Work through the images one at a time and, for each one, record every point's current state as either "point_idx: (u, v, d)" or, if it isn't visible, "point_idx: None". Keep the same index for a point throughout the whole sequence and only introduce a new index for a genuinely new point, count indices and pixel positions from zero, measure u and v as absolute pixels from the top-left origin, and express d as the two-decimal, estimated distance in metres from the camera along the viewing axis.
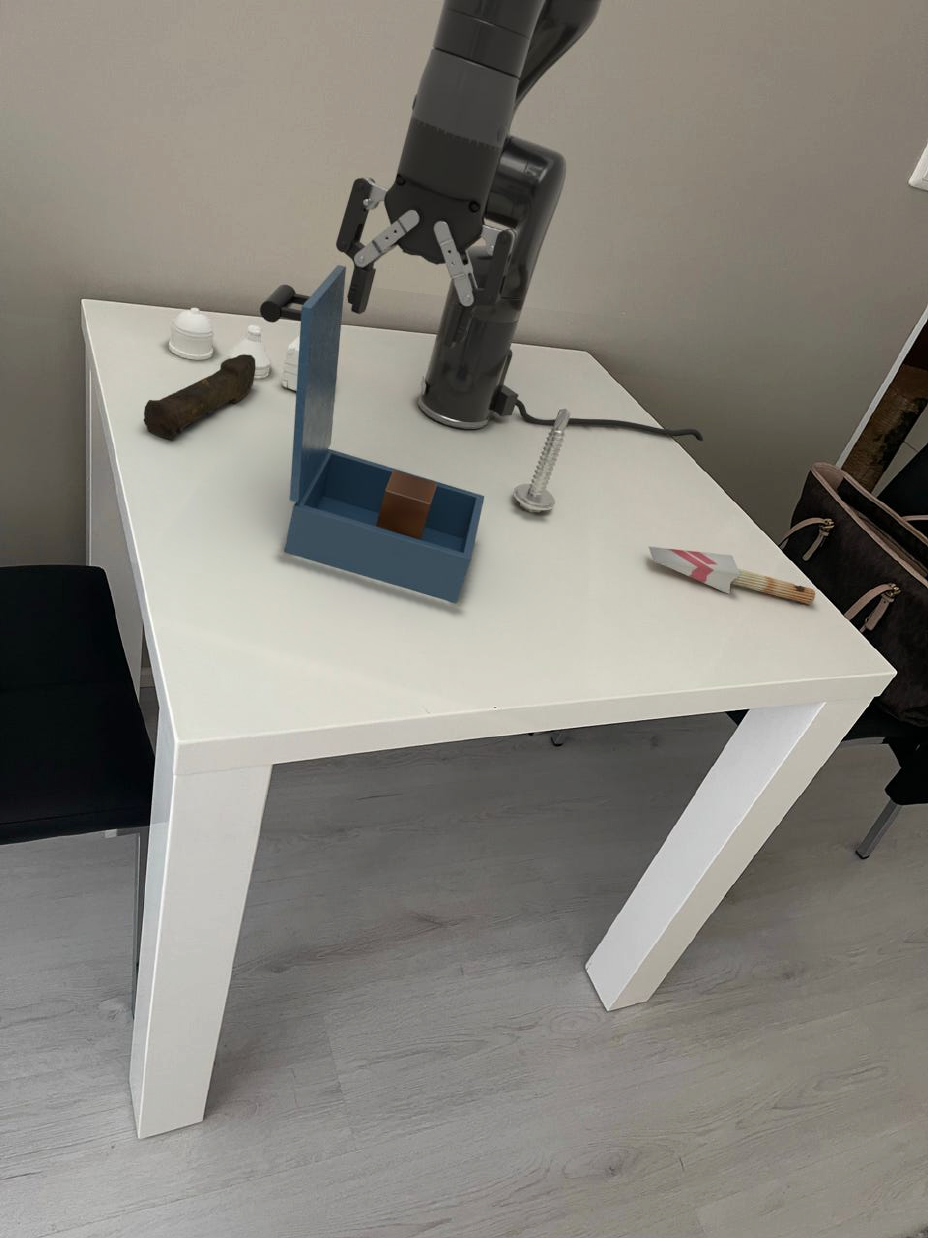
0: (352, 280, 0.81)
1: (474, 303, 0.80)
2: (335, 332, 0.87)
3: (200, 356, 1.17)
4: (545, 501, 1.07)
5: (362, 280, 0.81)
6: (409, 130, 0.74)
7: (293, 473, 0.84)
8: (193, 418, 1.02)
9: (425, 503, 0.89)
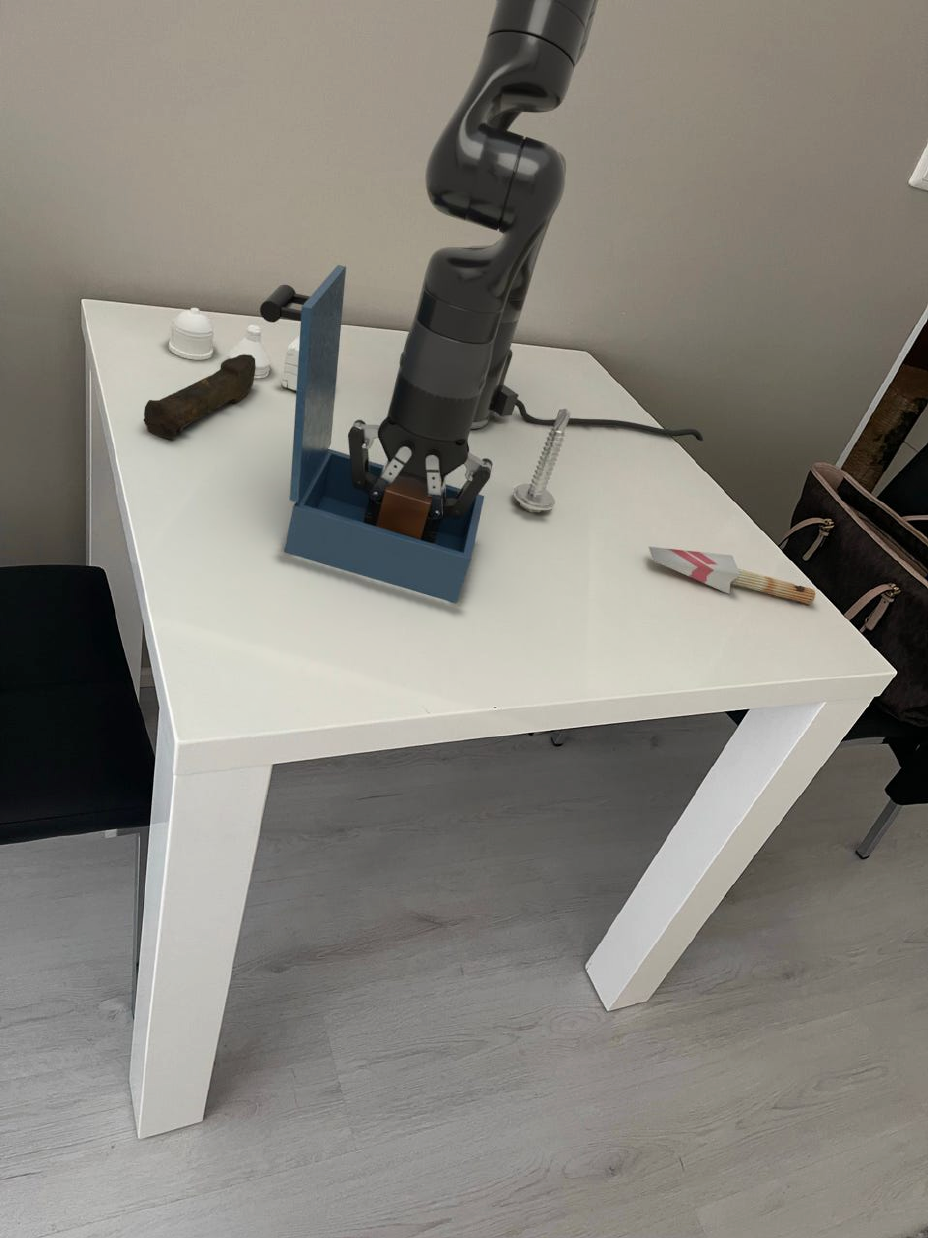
0: (367, 508, 0.91)
1: (443, 515, 0.91)
2: (335, 332, 0.87)
3: (200, 356, 1.17)
4: (545, 501, 1.07)
5: (377, 510, 0.91)
6: (399, 385, 0.83)
7: (293, 473, 0.84)
8: (193, 418, 1.02)
9: (425, 503, 0.89)
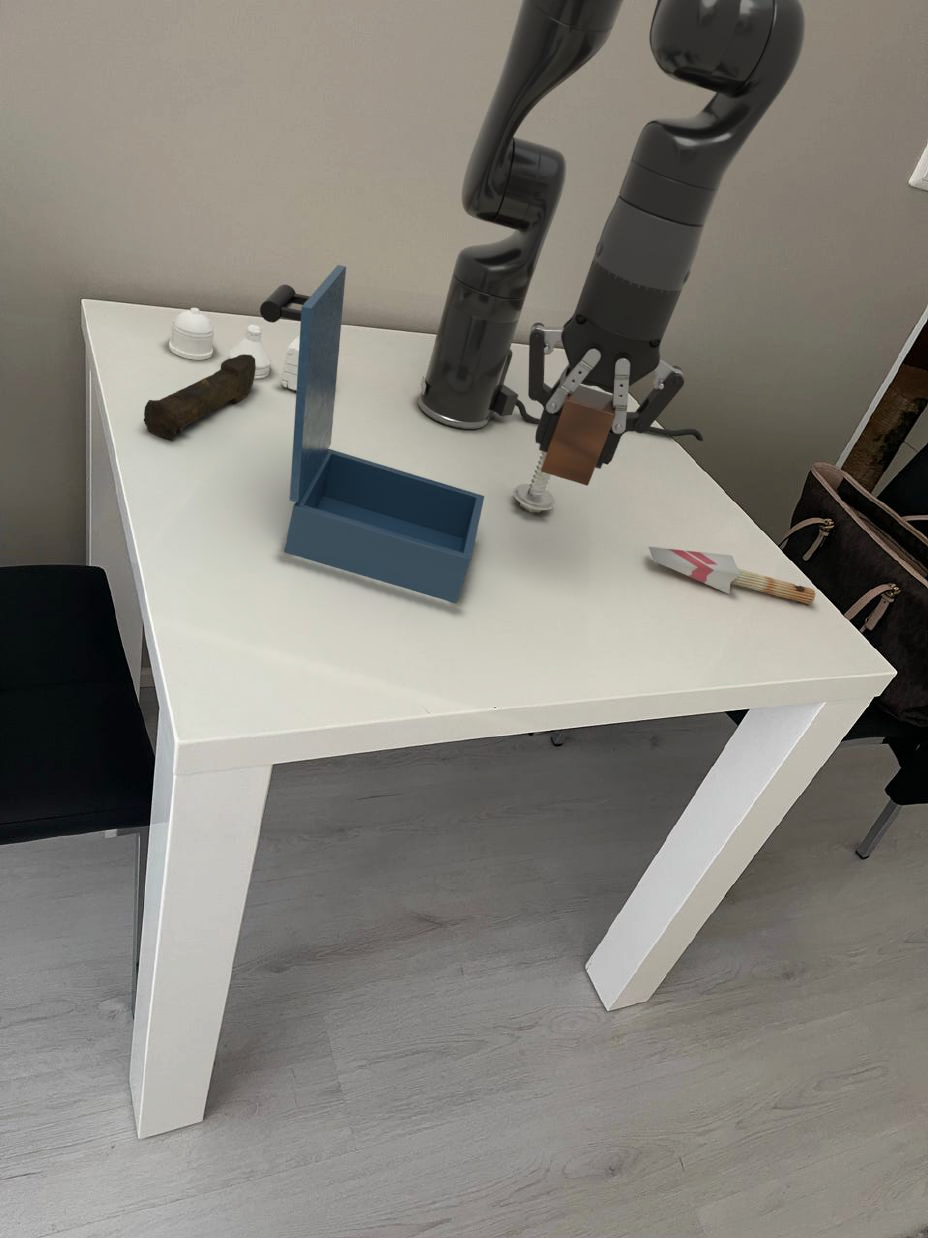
0: (541, 423, 0.84)
1: (624, 429, 0.83)
2: (335, 332, 0.87)
3: (200, 356, 1.17)
4: (545, 501, 1.07)
5: (553, 424, 0.83)
6: (595, 277, 0.75)
7: (293, 473, 0.84)
8: (193, 418, 1.02)
9: (609, 415, 0.81)
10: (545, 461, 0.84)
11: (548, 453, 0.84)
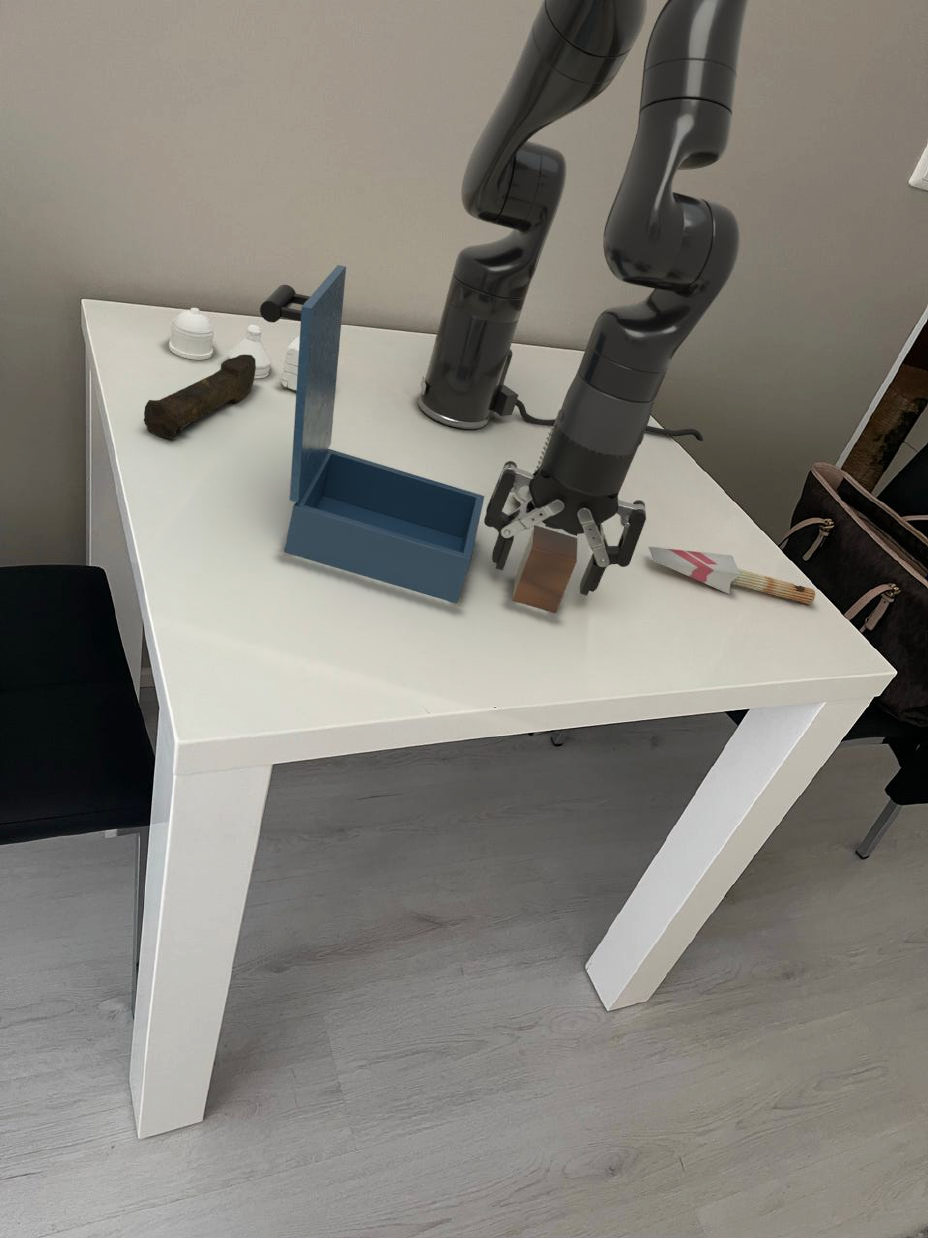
0: (497, 545, 0.91)
1: (608, 563, 0.91)
2: (335, 332, 0.87)
3: (200, 356, 1.17)
4: None
5: (507, 547, 0.91)
6: (558, 441, 0.83)
7: (293, 473, 0.84)
8: (193, 418, 1.02)
9: (571, 560, 0.89)
10: (514, 598, 0.92)
11: (516, 591, 0.92)
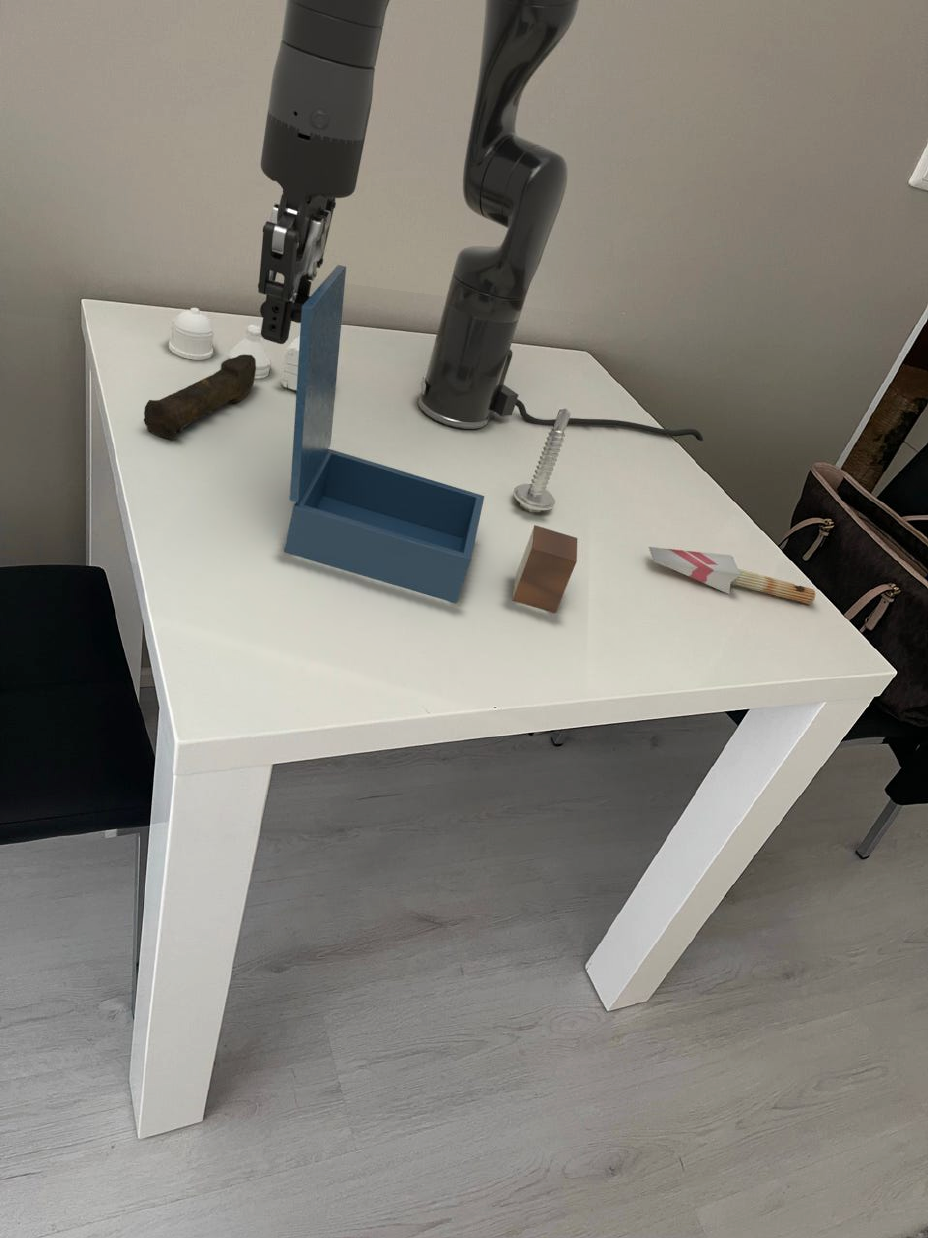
0: (283, 318, 0.79)
1: None
2: (335, 332, 0.87)
3: (200, 356, 1.17)
4: (545, 501, 1.07)
5: (292, 311, 0.79)
6: (329, 151, 0.72)
7: (293, 473, 0.84)
8: (193, 418, 1.02)
9: (571, 560, 0.89)
10: (514, 598, 0.92)
11: (516, 591, 0.92)
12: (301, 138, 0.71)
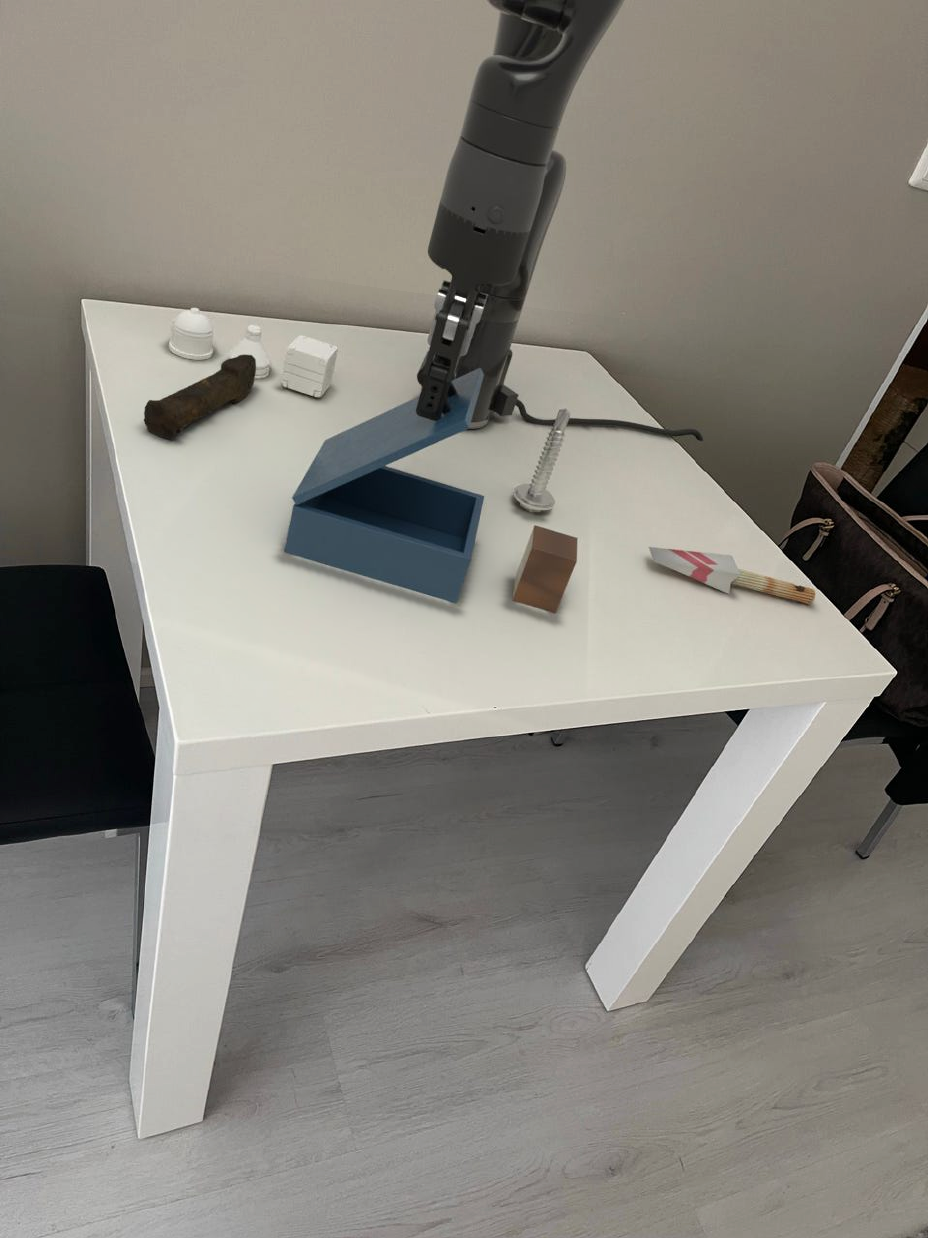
0: (441, 397, 0.81)
1: None
2: None
3: (200, 356, 1.17)
4: (545, 501, 1.07)
5: None
6: (501, 243, 0.74)
7: (318, 488, 0.84)
8: (193, 418, 1.02)
9: (571, 560, 0.89)
10: (514, 598, 0.92)
11: (516, 591, 0.92)
12: (476, 231, 0.73)
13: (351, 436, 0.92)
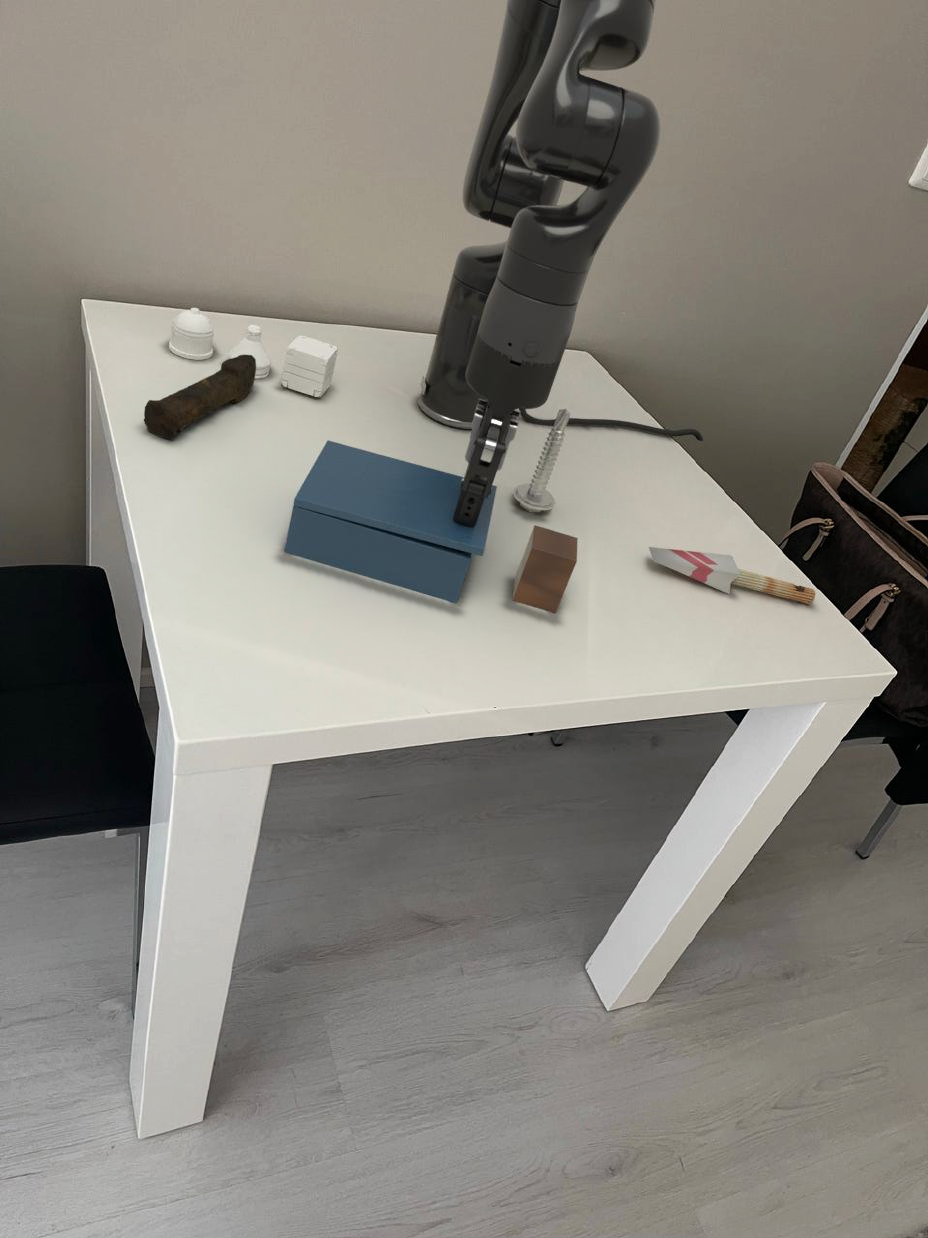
0: (477, 507, 0.87)
1: None
2: None
3: (200, 356, 1.17)
4: (545, 501, 1.07)
5: (483, 500, 0.87)
6: (536, 374, 0.80)
7: (324, 508, 0.85)
8: (193, 418, 1.02)
9: (571, 560, 0.89)
10: (514, 598, 0.92)
11: (516, 591, 0.92)
12: (512, 364, 0.79)
13: (359, 462, 0.93)
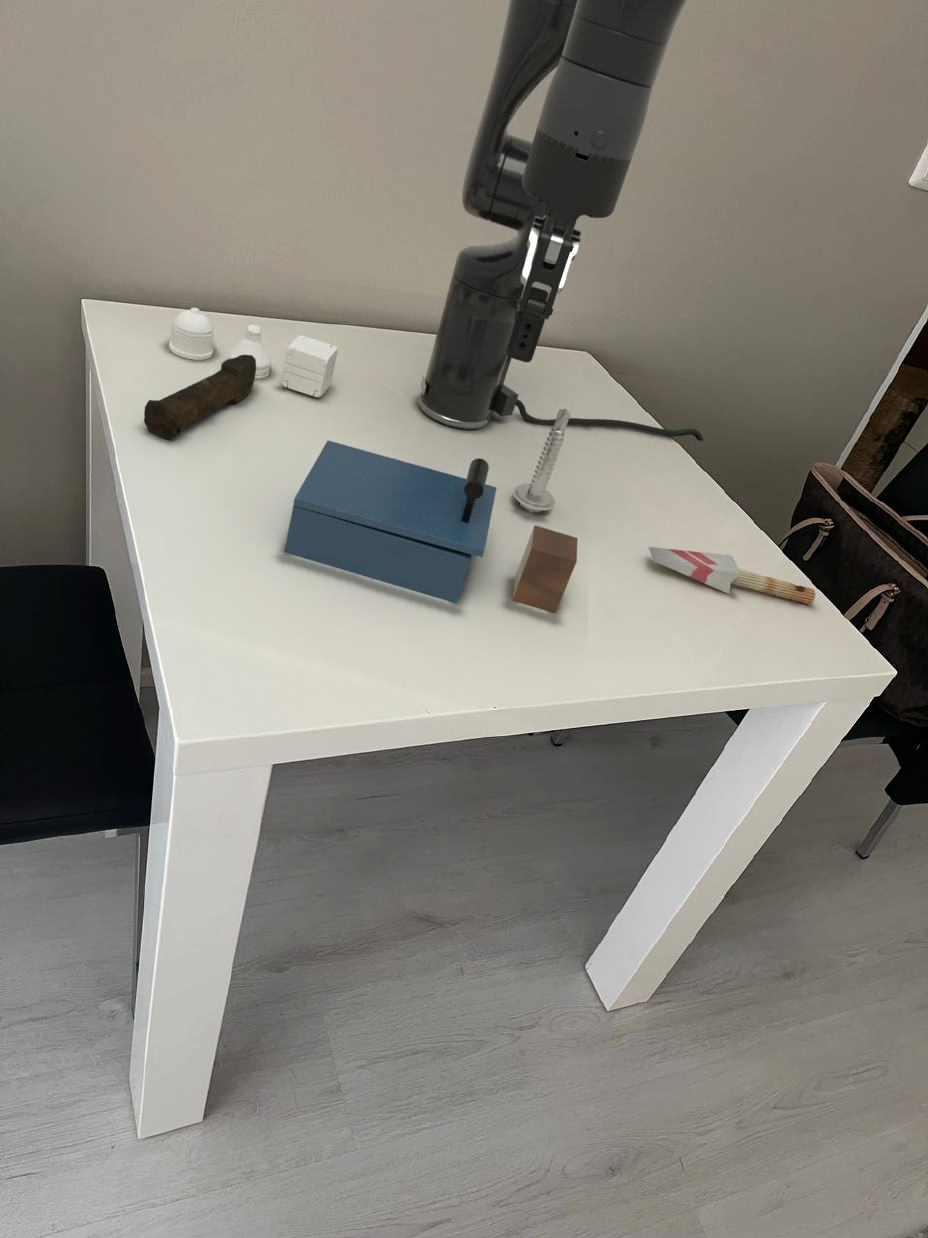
0: (535, 335, 0.76)
1: None
2: None
3: (200, 356, 1.17)
4: (545, 501, 1.07)
5: (541, 328, 0.76)
6: (604, 171, 0.70)
7: (324, 508, 0.85)
8: (193, 418, 1.02)
9: (571, 561, 0.89)
10: (514, 598, 0.92)
11: (516, 591, 0.92)
12: (578, 158, 0.70)
13: (359, 462, 0.93)
